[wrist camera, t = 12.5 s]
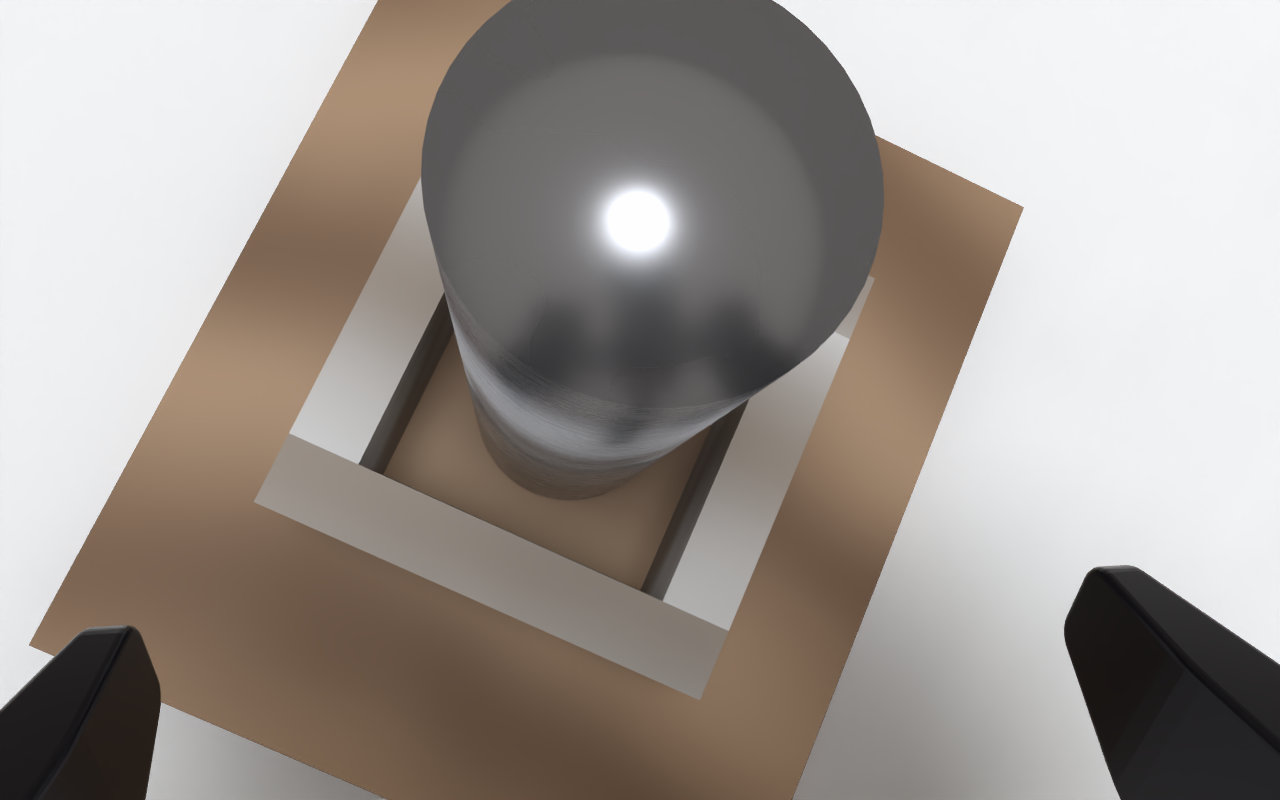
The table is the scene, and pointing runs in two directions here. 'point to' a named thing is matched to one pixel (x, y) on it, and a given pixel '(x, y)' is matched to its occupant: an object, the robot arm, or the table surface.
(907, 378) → the board
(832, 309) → the steel peg
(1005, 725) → the table surface
